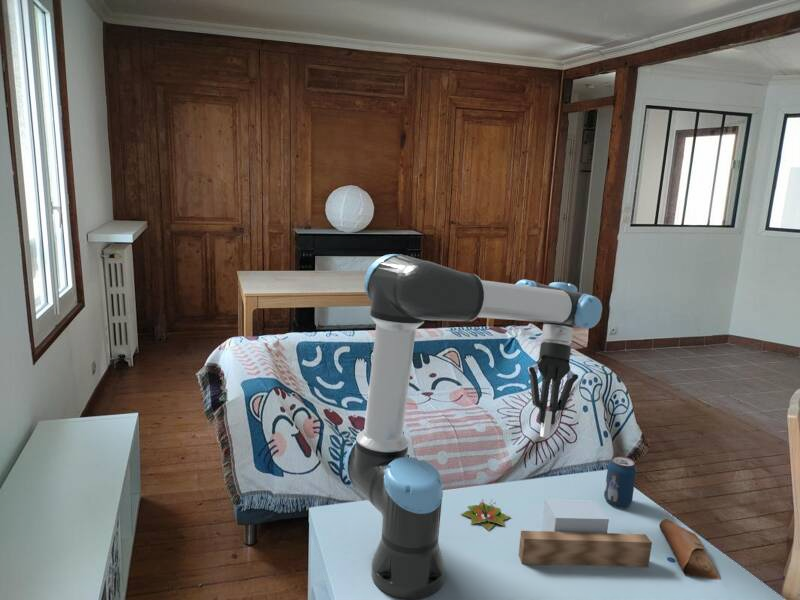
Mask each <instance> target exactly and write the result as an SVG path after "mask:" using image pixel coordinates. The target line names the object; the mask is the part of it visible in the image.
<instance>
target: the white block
mask: <svg viewBox="0 0 800 600" xmlns="http://www.w3.org/2000/svg"><path fill="white" fill-rule="evenodd" d="M609 522H610V519H609V517H608V516H607V514H606V513H605V511H604V509H602V508H601V506H600V505H599V503H598V501H597V500H596V499H571V498H566V499H565V498H545V499H544V506H543V517H542V523H541V524H542V525H541V531H552V532H585V533H608V530H609V528H608V527H609Z"/></svg>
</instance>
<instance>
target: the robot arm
mask: <svg viewBox="0 0 800 600" xmlns="http://www.w3.org/2000/svg"><path fill="white" fill-rule="evenodd" d="M363 284H364V291H365V294H366V295H367V298H369V299H370V301H371V304H370V311H369V312H370V313H369V317H370V318H371V319H372V321H373V322H374V323H375V332H374V341H373V350H372V358H371V366H370V367H371V368H370V375H369V376H370V377H369V384H368V385H369V386H368V395H367V402H366V411H365V418H364V429H363V430H361V431H360V432H358V433H357V435H356V438H355V440H354V442H352V445H351V447H349V448H348V449H347V452H346V454H345V458H344V472H345V475H346V477H347V479H348V480H349V483H351V485H352V486H353V488H355V490H357V492H358V493H360V494H361V495H362V496H363V498H364V497H365V499H366V500H368V501H369V503H371V505H372V506H374V508H375V509H376V510H377V511H378V512H379V513H380V514H381V516H382V522H381V524H382V526H381V527H382V528H381V538H380V541H379V543H378V545H377V547H376V550H375V553H374V555H373V558H372V561H371V571H370V572H371V574H370V576H371V578H372V581H373V583H374V584H375V586H376V587H377V588H378V589H379V590H380V591H382V592H384V593H385V594H387V595H389V596H391V597H394V598H399V599H405V600H418V599H423V598H427V597H429V596H431V595H433V594H435V593H437V592H438V591H439V590H440V589H441V587H442V586H443V585H444V582H445V575H446V574H445V571H446V567H445V562H444V558H443V555H442V551H441V546H440V544H439V535H440V524H441V513H442V504H443V503H442V502H443V496H444V495H443V493H444V492H443V479H442V476H441V474H440V472H439V471H438V469H437V468H436V467H435V466H434V465H433V464H432V463H429V462H428V461H426V460H424V459H421V460H419V459H418V458H417V457H412V456H408V452H409V451H408V450H409V440H408V437H406V436H405V435H404V428H405V421H406V412H407V403H408V396H409V388H410V387H409V386H410V381H411V371H412V363H413V355H414V349H415V348H414V347H415V339H416V331H417V329H418V328H419V327H421V326H422V325H424V323H425V321H438V322H439V321H443V322H445V321H446V322H447V321H448V322H449V321H450V322H472V321H475V320H476V319H477V318H485V319H495V320H497V319H498V320H513V321H522V322H523V321H526V322H538V323H539V322H540V323H543V325H542V333H541V341H542V342H541V343H540V347H539V355H538V360H537V361H536V363H535V364H534V365H532V366H528V367H527V368H526V371H527V373H528V375H529V381H530V382H529V383H530V391H531V399H532V401H531V402H532V405H533V406H534V407H536V408H538V409H539V411H538V420H537V421H538V423H540V432H539V437H541V438H546V439H550V432H551V425H553V426H554V424H555V422H556V414H557V412H558V411H559V412H560V411H564V410H565V407H566V405H567V402H568V399H569V397H570V394H571V391H572V389H573V385H574V383H575V382H576V381H577V380H578V379H579V375H578V374H577V373H576V374H575V373H574V372H573V371H572V370H571V365H570V360H571V359H570V358H571V351H572V347H571V346H570V345H571V344H572V341H573V334H574V327H577V328H582V329H583V328H584V329H592V328H594V327H595V326H596V325H597V324H598V323H599V322H600V320H601V318H602V313H603V305H602V302H601V300H600V299H599V298H598V297H597V296H594V295H590V294H589V293H583V292H578V288H577V286H576V285H574V284H572V283H566V282H561V281H555V282H551V283H549V284H548V285H546V284H543V283H539V282H536V281H535V280H529V279H520V280H518V281H517V282H516V283H507V282H500V281H499V282H498V281H492V280H483V279H481V278H480V277H479V276H478V275H476V274H474V273H470V272H469V273H468V272H462V271H459V270H456V269H453V268H449V267H447V266H444V265H442V264H438V263H435V262H433V261H429V260H424V259H420V258H416V257H413V256H409V255H404V254H401V253H400V254H397V253H396V254H395V253H392V254H390V253H389V254H385V255H383V256H381V257H379V258H377V259H376V260H375V261H374V262H372V263H371V265H370V266H369V267H368V269H367V271H366V273H365V276H364V283H363ZM538 372H539V373H540V375H541V377H542V379H541V382H542V383H541V390H539V381H538V378H539V377H538V374H539V373H538ZM564 377H566V380H565V382H564V385H563V388H562V391H561V393H560V387H561V384H562V380H563V378H564ZM550 385H551V392H550ZM549 394H550V398H549ZM548 401H549V403H548ZM548 404H549V406H548ZM547 408H548V410H547Z"/></svg>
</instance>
